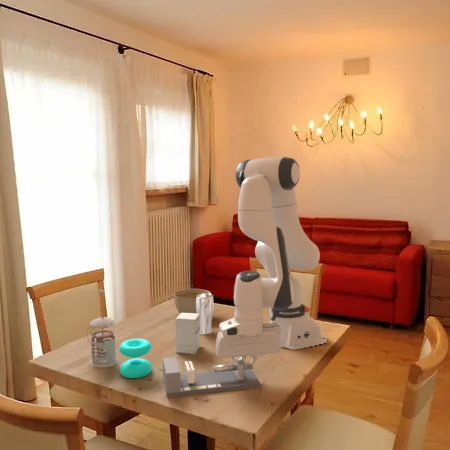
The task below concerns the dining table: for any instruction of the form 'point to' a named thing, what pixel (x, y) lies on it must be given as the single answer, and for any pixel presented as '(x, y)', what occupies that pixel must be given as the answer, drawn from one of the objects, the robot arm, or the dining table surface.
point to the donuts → (136, 366)
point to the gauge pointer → (189, 372)
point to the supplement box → (187, 333)
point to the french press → (102, 342)
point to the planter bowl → (187, 299)
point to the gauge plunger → (232, 368)
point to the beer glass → (205, 312)
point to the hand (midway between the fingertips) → (248, 368)
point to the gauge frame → (203, 380)
